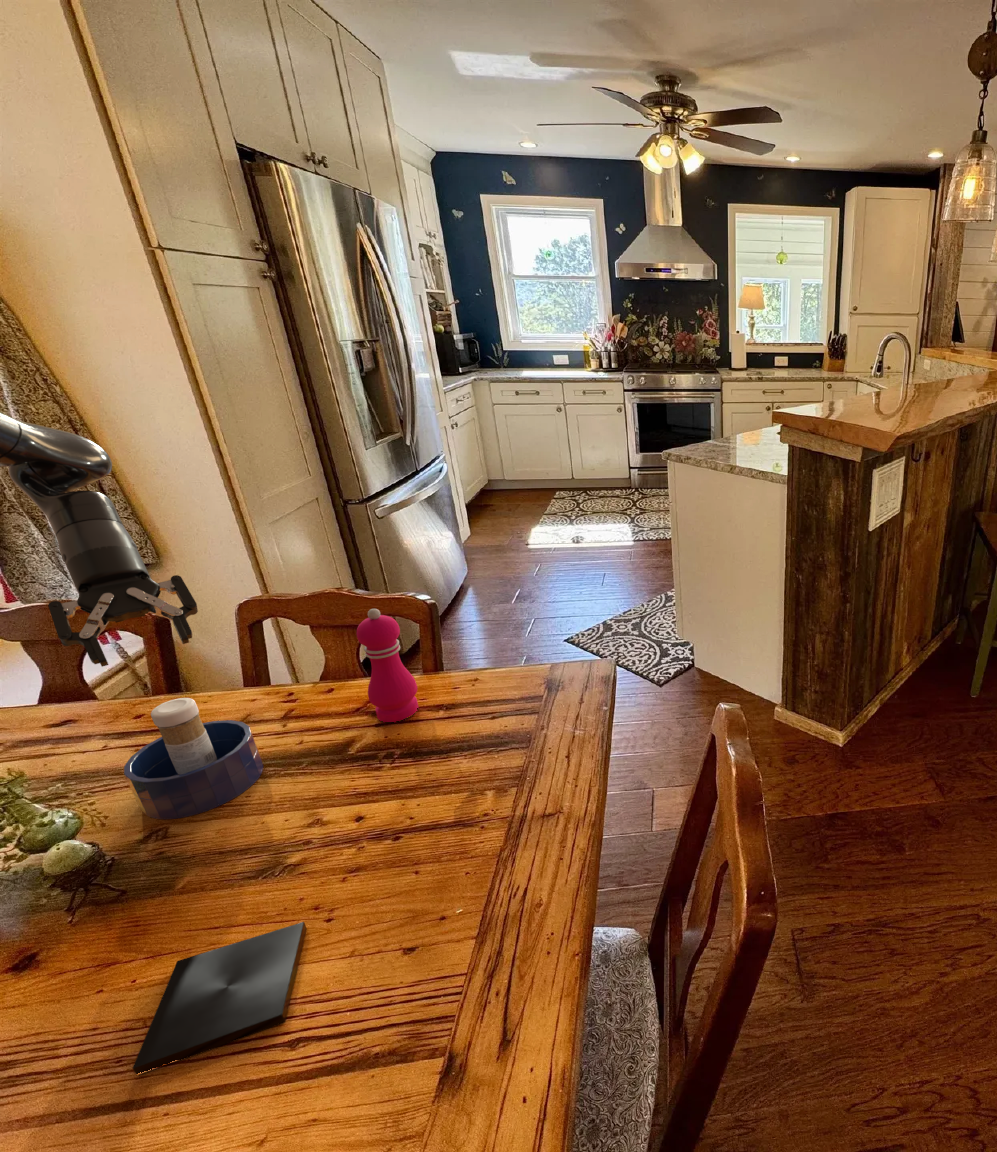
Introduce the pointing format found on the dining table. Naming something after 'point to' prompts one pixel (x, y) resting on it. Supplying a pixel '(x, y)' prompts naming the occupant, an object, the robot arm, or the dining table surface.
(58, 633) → the robot arm
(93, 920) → the dining table surface
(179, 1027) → the plate
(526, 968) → the dining table surface
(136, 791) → the bowl
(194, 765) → the sprinkles bottle
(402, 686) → the pepper mill
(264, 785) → the dining table surface
